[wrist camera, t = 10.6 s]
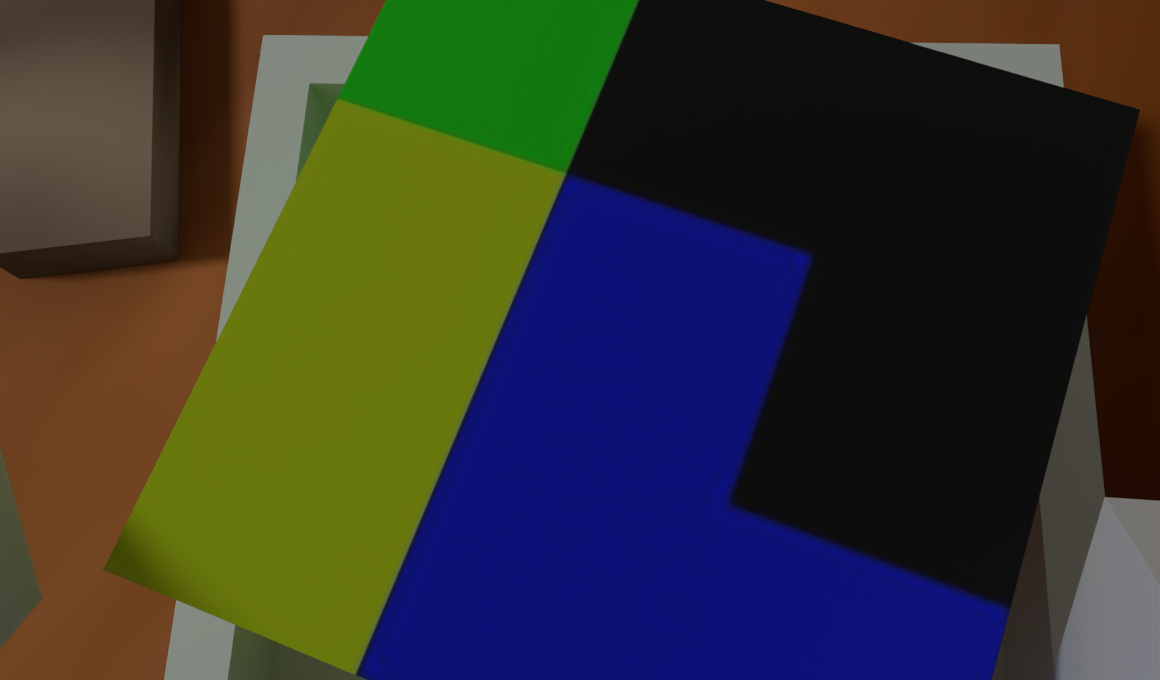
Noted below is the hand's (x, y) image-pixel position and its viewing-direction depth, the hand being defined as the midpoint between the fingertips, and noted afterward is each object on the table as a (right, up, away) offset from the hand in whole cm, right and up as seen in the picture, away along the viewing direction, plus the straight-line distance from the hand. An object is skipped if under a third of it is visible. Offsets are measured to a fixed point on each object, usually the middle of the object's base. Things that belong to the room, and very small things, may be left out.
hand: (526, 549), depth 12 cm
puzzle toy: (+2, 0, +10) cm, 10 cm away
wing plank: (-12, +11, +15) cm, 22 cm away
